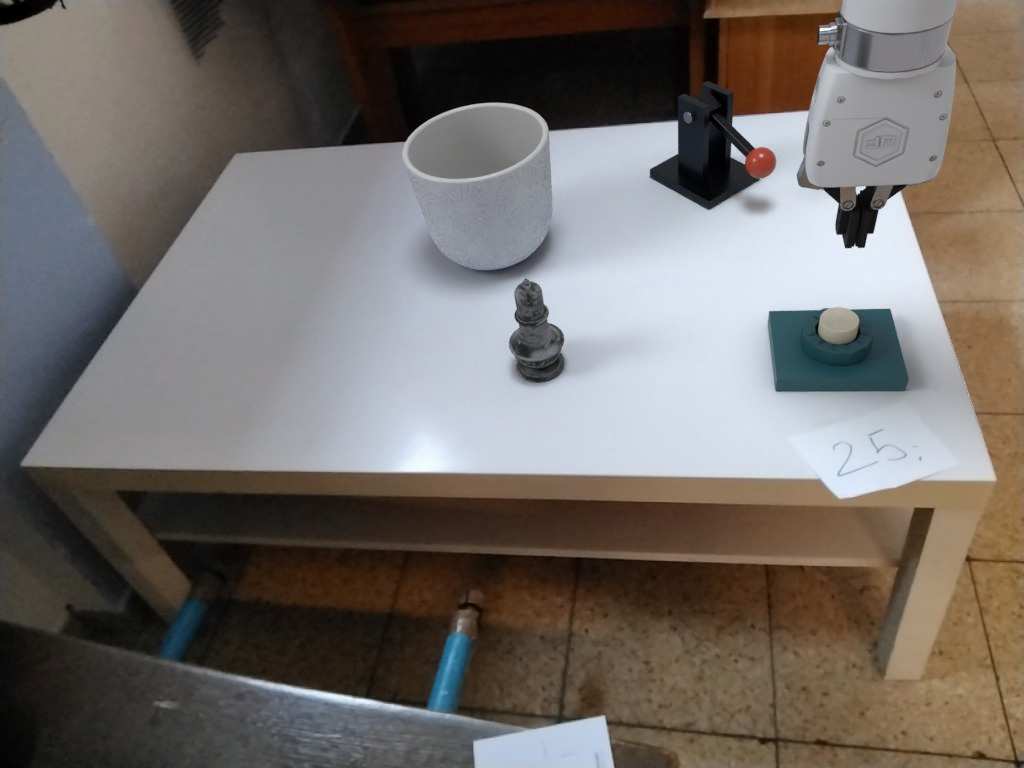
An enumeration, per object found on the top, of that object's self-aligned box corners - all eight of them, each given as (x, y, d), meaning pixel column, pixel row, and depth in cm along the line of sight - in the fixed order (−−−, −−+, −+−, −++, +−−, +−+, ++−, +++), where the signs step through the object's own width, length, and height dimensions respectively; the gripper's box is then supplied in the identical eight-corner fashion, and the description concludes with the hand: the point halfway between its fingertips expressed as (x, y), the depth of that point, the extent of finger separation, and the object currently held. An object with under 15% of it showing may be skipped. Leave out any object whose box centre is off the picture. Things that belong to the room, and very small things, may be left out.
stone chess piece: (569, 344, 91) (557, 257, 82) (566, 383, 87) (553, 296, 78) (516, 346, 92) (499, 261, 83) (510, 385, 88) (492, 299, 79)
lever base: (760, 179, 106) (766, 94, 98) (708, 210, 103) (711, 124, 95) (699, 149, 113) (700, 66, 105) (649, 177, 110) (647, 94, 102)
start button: (853, 319, 82) (856, 306, 81) (859, 344, 80) (862, 331, 79) (815, 320, 83) (817, 307, 82) (820, 345, 81) (822, 332, 80)
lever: (775, 176, 100) (787, 156, 97) (754, 189, 99) (765, 169, 95) (704, 105, 104) (713, 84, 101) (683, 116, 103) (691, 95, 99)
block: (887, 320, 86) (893, 294, 84) (905, 391, 79) (913, 365, 77) (767, 322, 88) (770, 297, 86) (775, 391, 82) (778, 366, 79)
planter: (427, 221, 111) (400, 117, 100) (551, 197, 110) (537, 90, 100) (433, 301, 99) (403, 194, 88) (572, 275, 99) (559, 163, 88)
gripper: (789, 68, 59) (768, 267, 72) (1018, 52, 56) (952, 263, 70) (780, 22, 64) (762, 216, 78) (990, 5, 61) (933, 210, 75)
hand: (852, 238), depth 74 cm, fingers closed
